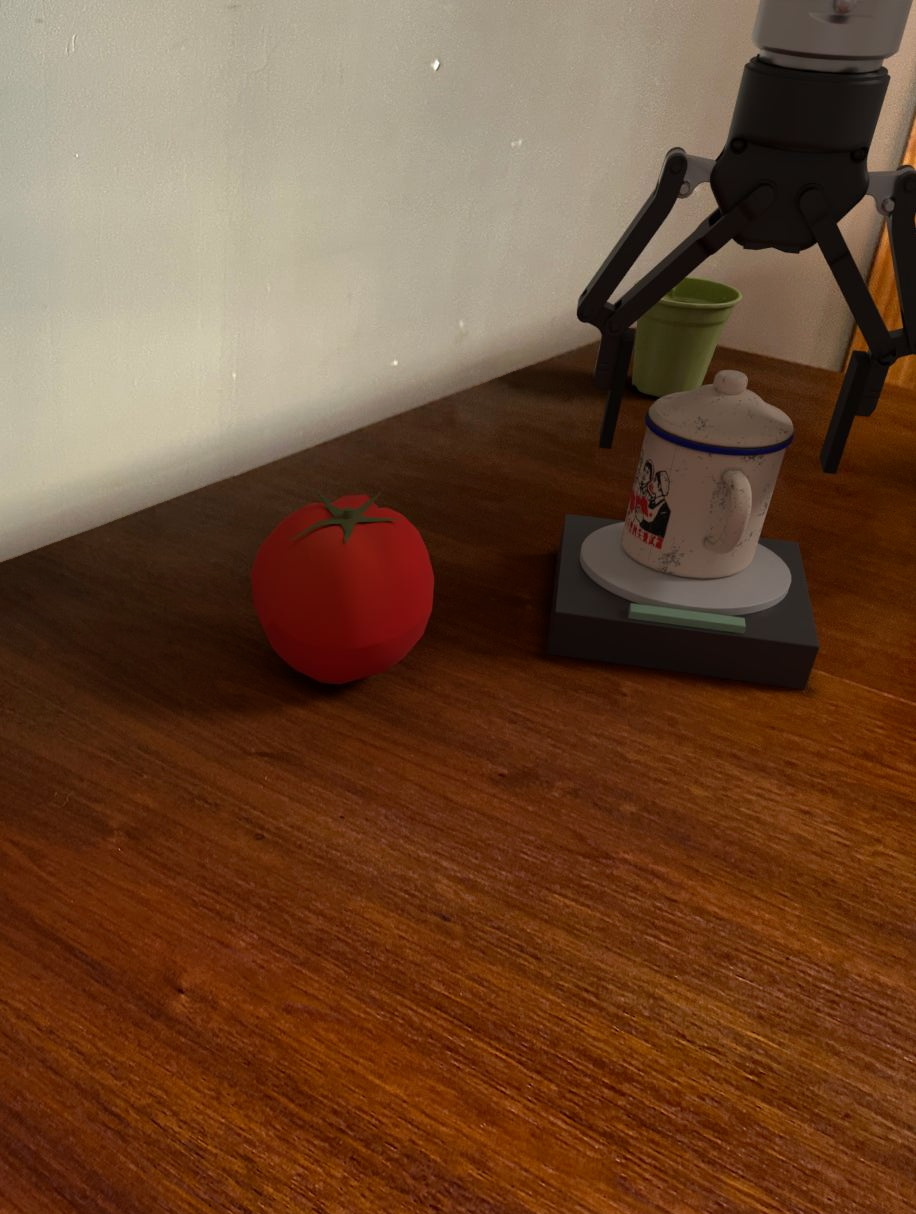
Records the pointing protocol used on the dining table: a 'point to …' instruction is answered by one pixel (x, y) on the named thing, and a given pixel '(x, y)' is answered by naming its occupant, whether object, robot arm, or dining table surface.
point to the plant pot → (681, 336)
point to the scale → (681, 611)
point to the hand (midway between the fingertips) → (714, 454)
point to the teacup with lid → (705, 479)
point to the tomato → (343, 588)
